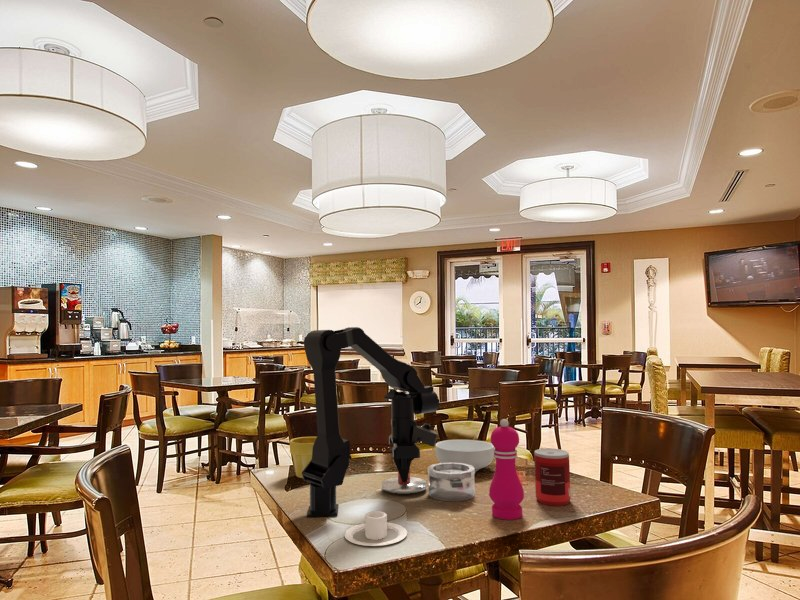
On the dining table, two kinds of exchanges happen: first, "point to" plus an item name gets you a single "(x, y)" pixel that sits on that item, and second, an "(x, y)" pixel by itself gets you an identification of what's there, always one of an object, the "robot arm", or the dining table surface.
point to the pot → (451, 481)
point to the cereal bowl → (465, 452)
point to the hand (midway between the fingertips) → (404, 480)
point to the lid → (404, 485)
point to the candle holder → (376, 529)
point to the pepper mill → (505, 474)
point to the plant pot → (301, 453)
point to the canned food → (552, 476)
